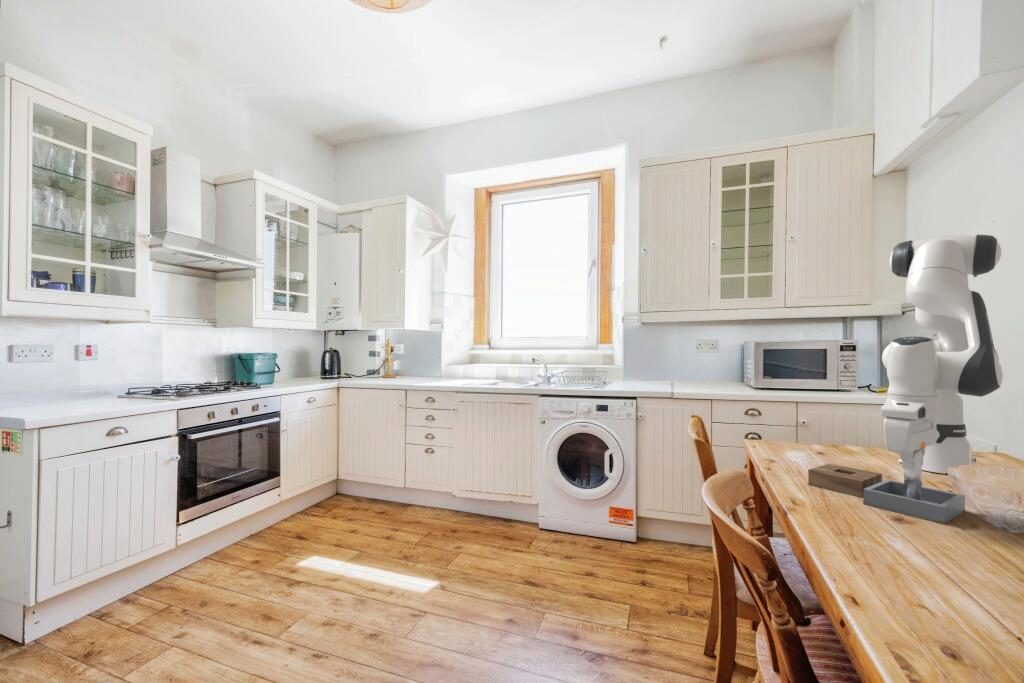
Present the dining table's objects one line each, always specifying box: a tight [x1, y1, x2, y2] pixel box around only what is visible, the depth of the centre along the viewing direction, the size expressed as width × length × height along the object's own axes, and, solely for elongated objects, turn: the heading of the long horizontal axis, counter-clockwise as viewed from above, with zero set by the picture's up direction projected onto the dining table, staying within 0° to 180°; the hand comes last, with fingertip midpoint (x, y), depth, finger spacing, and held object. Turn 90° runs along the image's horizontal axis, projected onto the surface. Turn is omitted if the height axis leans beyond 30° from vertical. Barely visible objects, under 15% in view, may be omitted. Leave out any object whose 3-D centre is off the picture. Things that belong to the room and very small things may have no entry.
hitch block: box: [807, 463, 883, 498], centre depth 117 cm, size 12×12×4 cm
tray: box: [863, 479, 966, 525], centre depth 102 cm, size 14×14×4 cm
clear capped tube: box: [903, 442, 926, 501], centre depth 102 cm, size 4×4×13 cm
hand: (912, 467), depth 102 cm, fingers closed on clear capped tube, 4 cm apart
